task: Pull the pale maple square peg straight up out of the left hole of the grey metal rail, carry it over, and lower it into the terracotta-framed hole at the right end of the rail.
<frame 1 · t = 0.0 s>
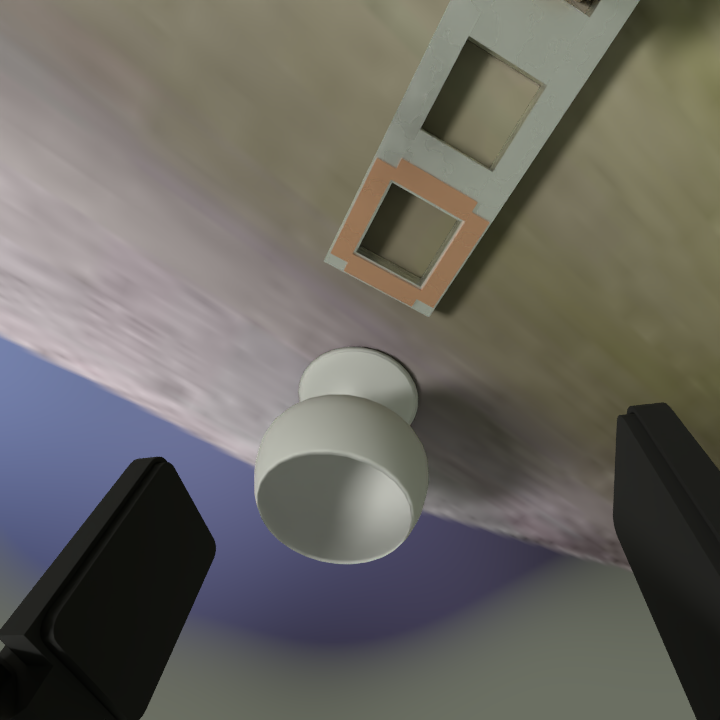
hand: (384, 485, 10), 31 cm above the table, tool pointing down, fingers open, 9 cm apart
chalice: (358, 396, 47), on the table
rail: (478, 107, 33), on the table
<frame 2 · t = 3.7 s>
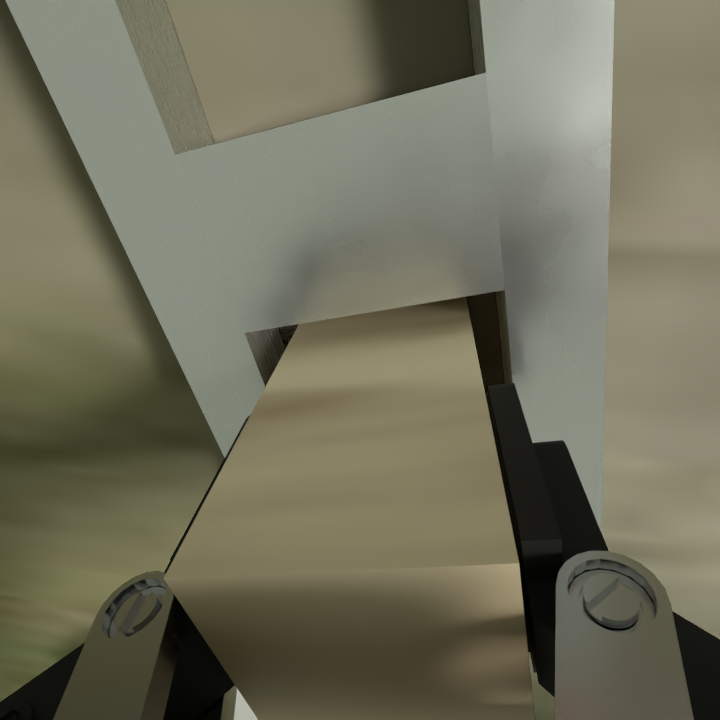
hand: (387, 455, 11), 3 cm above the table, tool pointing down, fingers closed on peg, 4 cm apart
peg: (395, 376, 14), resting in rail, touching gripper
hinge: (279, 696, 25), on the table
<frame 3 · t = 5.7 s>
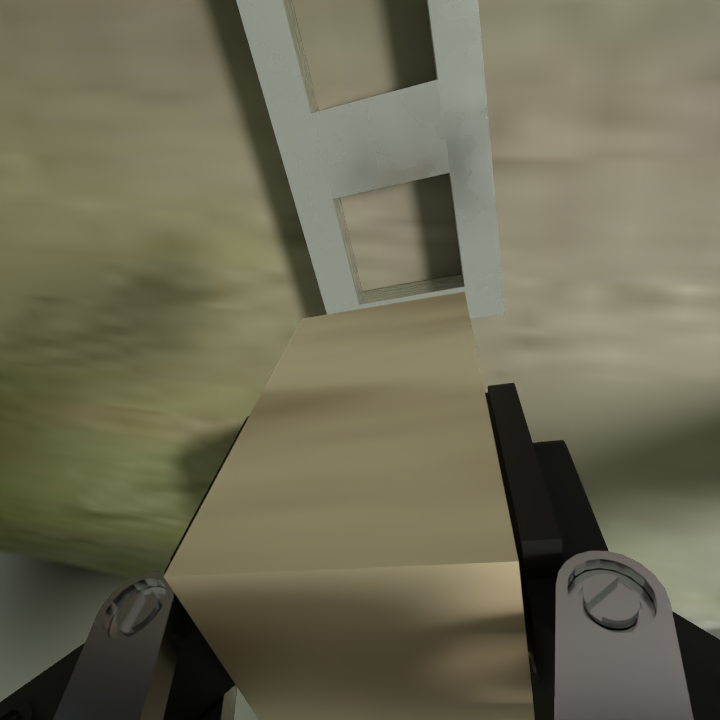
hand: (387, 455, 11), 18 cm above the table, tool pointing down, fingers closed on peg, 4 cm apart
peg: (395, 375, 14), point 15 cm above the table, touching gripper
rail: (362, 24, 22), on the table
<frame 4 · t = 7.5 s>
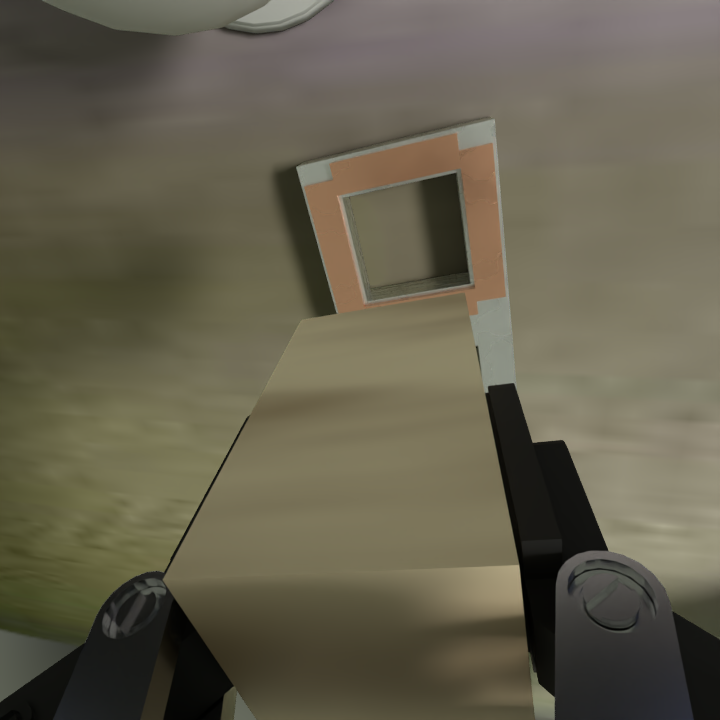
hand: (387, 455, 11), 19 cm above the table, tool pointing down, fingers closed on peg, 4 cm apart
peg: (395, 376, 14), point 16 cm above the table, touching gripper
rail: (435, 376, 32), on the table
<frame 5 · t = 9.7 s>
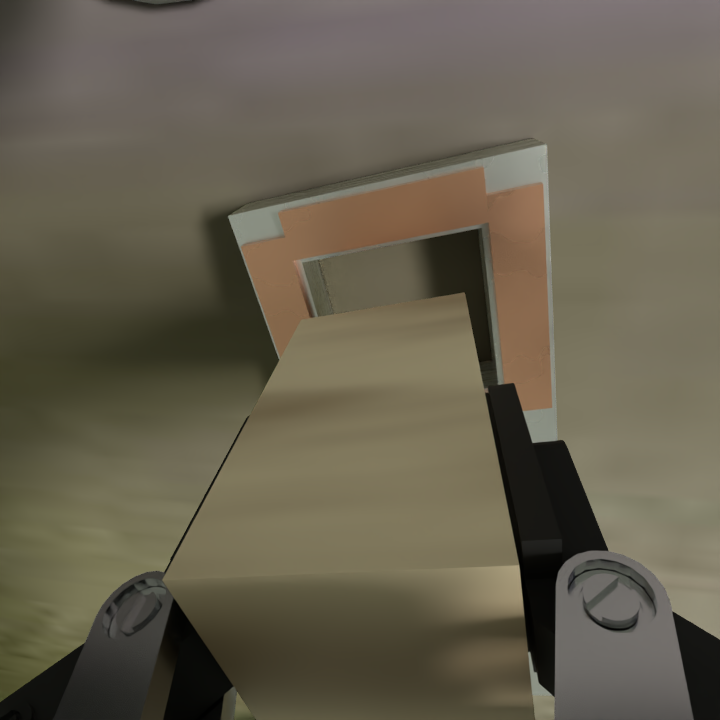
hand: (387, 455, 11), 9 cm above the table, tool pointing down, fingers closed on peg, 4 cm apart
peg: (395, 376, 14), point 5 cm above the table, touching gripper
rail: (442, 490, 23), on the table
when the fingers open (4 cm above the table, at t = 11.7 s): peg stays where it is, resting in rail.
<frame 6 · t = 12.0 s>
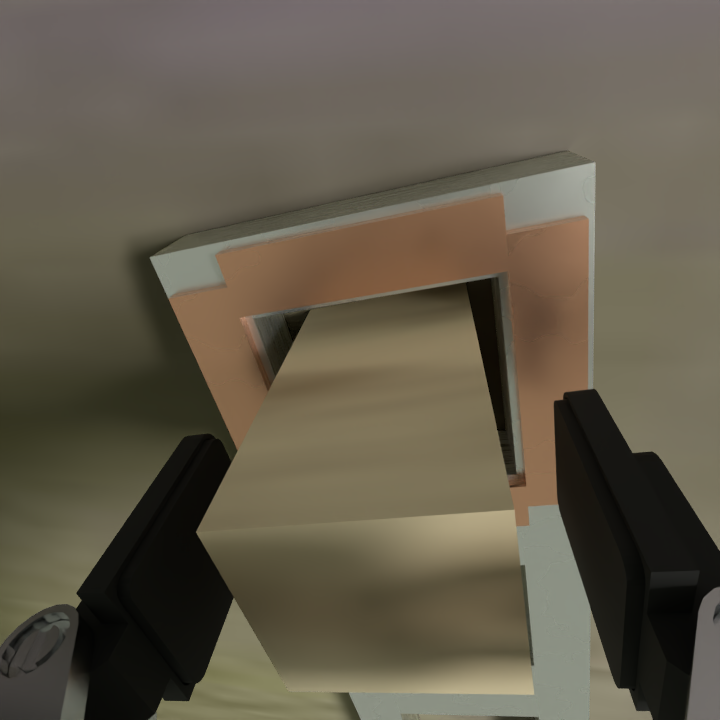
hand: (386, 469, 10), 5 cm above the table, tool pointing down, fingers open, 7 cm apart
peg: (400, 363, 14), resting in rail
rail: (443, 572, 19), on the table
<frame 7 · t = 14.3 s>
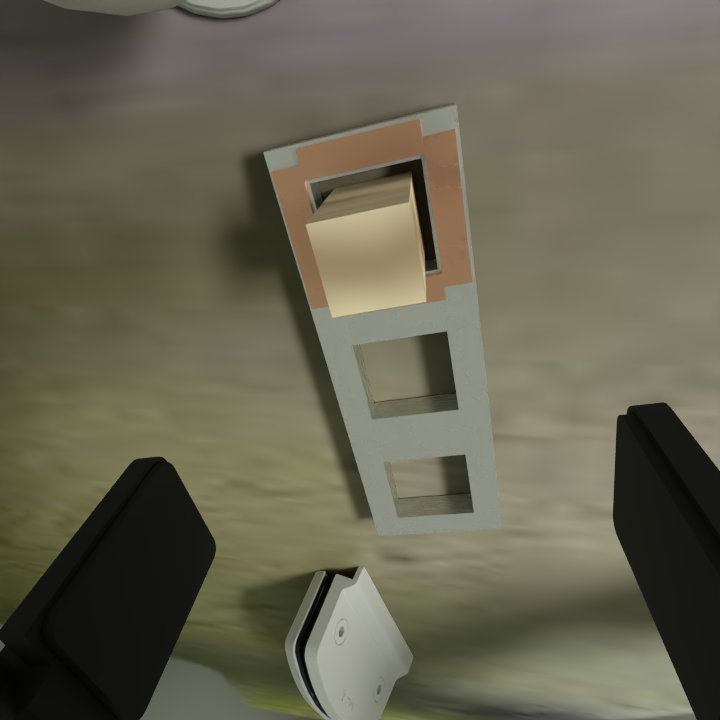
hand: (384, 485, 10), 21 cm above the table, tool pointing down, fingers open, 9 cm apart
peg: (380, 219, 27), resting in rail
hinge: (356, 615, 49), on the table
rail: (407, 362, 32), on the table
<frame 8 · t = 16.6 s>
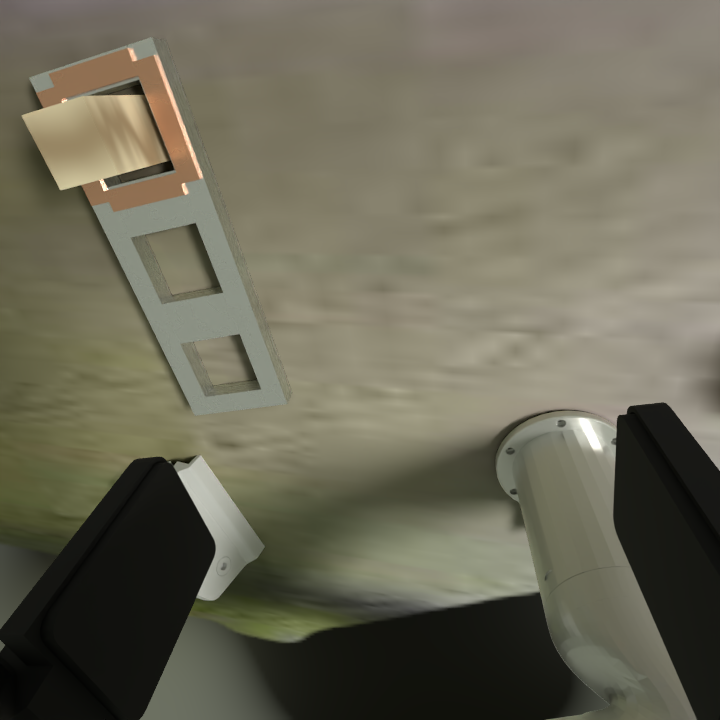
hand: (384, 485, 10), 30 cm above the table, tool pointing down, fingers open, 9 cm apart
peg: (138, 135, 36), resting in rail
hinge: (209, 506, 57), on the table
rail: (188, 258, 41), on the table
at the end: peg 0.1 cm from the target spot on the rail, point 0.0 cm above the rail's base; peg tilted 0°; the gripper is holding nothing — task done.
